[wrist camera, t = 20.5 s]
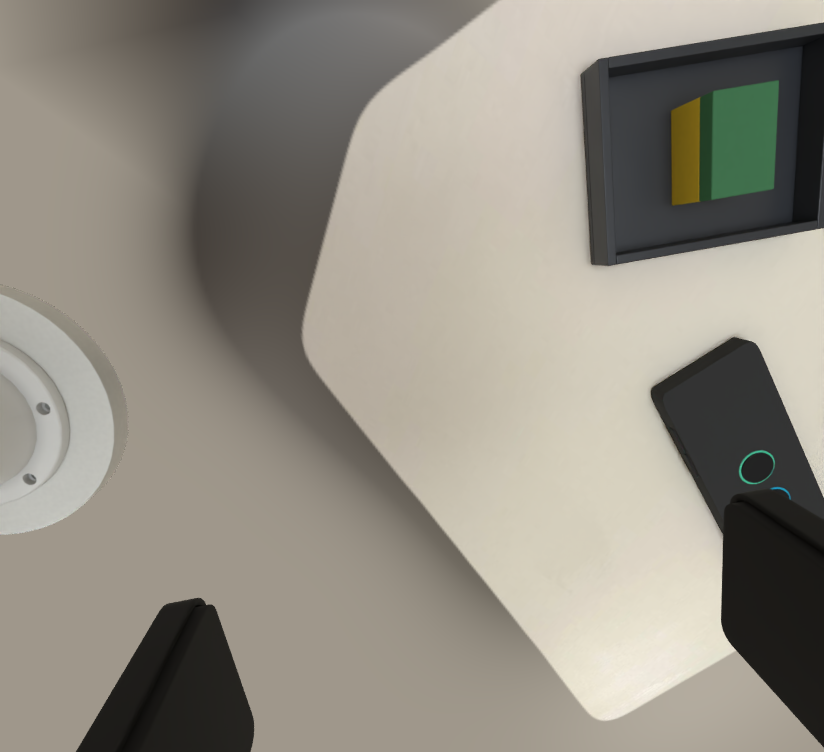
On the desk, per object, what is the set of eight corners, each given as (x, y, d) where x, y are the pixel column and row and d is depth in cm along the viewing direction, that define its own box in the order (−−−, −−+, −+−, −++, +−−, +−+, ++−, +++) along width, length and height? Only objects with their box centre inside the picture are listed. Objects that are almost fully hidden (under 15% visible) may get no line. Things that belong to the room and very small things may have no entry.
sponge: (727, 196, 32) (774, 189, 28) (671, 205, 32) (711, 200, 28) (728, 100, 31) (779, 79, 27) (670, 110, 30) (713, 90, 27)
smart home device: (753, 579, 40) (658, 398, 35) (737, 566, 42) (645, 391, 36) (840, 529, 39) (758, 337, 34) (821, 518, 41) (740, 332, 36)
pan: (591, 264, 33) (608, 265, 31) (580, 73, 30) (598, 58, 28) (793, 229, 34) (825, 227, 31) (805, 37, 30) (842, 19, 28)
